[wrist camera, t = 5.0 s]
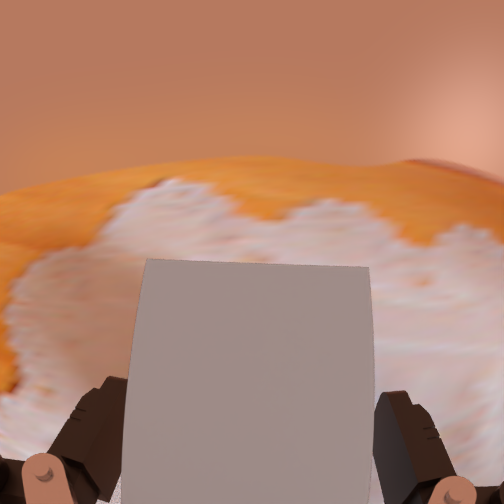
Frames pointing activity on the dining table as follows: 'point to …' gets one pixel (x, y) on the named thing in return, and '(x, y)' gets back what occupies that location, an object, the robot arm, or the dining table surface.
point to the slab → (250, 385)
